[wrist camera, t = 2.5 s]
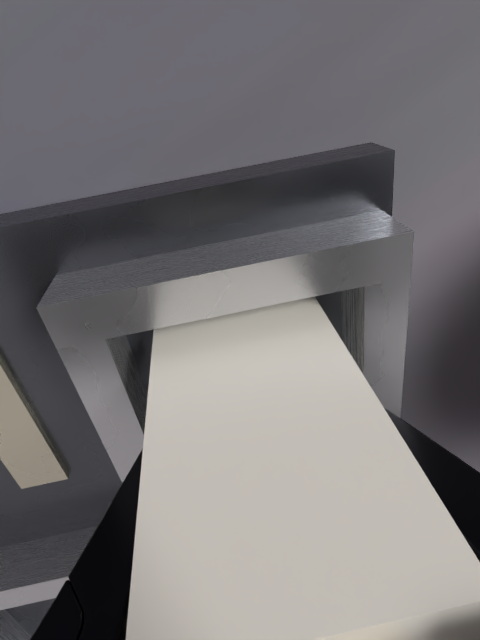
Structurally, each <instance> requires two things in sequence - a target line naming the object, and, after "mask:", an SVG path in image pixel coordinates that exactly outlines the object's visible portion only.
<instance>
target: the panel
mask: <svg viewBox="0 0 480 640" xmlns="http://www.w3.org/2000/svg"><path fill="white" fill-rule="evenodd" d="M394 155H395V150H392V149H389V148H386V147H383V146H380V145H378V144H375V143H367V144H361V145H356V146H351V147H346V148H341V149H336V150H330V151H325V152H320V153H315V154H310V155H305V156H299V157H294V158H289V159H284V160H279V161H274V162H268V163H263V164H258V165H253V166H248V167H242V168H237V169H232V170H227V171H222V172H217V173H211V174H206V175H201V176H196V177H191V178H186V179H180V180H175V181H170V182H165V183H160V184H155V185H149V186H144V187H139V188H134V189H129V190H124V191H118V192H113V193H108V194H103V195H98V196H93V197H87V198H82V199H77V200H72V201H67V202H62V203H56V204H51V205H46V206H41V207H36V208H31V209H25V210H20V211H15V212H10V213H5V214H0V640H30V639H31V637H32V636H33V634H34V633H35V631H36V630H37V628H38V626H39V625H40V623H41V621H42V620H43V618H44V616H45V615H46V613H47V611H48V610H49V608H50V607H51V605H52V603H53V602H54V600H55V598H56V597H57V595H58V593H59V591H60V590H61V588H62V586H63V584H64V583H65V581H66V580H69V578H68V576H69V574H70V573H71V571H72V569H73V568H74V566H75V564H76V562H77V561H78V559H79V557H80V555H81V554H82V552H83V550H84V549H85V547H86V545H87V543H88V542H89V540H90V538H91V536H92V535H93V533H94V531H95V530H96V528H97V526H98V524H99V523H100V521H101V519H102V518H103V516H104V514H105V512H106V511H107V509H108V507H109V505H110V504H111V502H112V500H113V499H114V497H115V495H116V493H117V492H118V490H119V488H120V486H121V485H122V483H123V481H124V480H125V478H126V476H127V474H128V473H129V471H130V469H131V468H132V466H133V464H134V462H135V461H136V459H137V457H138V455H139V454H140V452H141V450H142V449H143V442H144V431H145V420H146V409H147V398H148V387H149V376H150V365H151V354H152V343H153V331H154V329H158V328H163V327H168V326H173V325H178V324H183V323H187V322H192V321H197V320H202V319H207V318H212V317H217V316H222V315H226V314H231V313H236V312H241V311H246V310H251V309H256V308H261V307H266V306H270V305H275V304H280V303H285V302H290V301H295V300H300V299H305V298H310V297H314V296H315V298H316V300H317V301H318V303H319V304H320V306H321V308H322V309H323V311H324V312H325V314H326V316H327V317H328V319H329V320H330V322H331V324H332V325H333V327H334V328H335V330H336V332H337V333H338V335H339V337H340V338H341V340H342V341H343V343H344V345H345V346H346V348H347V349H348V351H349V353H350V354H351V356H352V357H353V359H354V361H355V362H356V364H357V365H358V367H359V369H360V370H361V372H362V374H363V375H364V377H365V378H366V380H367V382H368V383H369V385H370V386H371V388H372V390H373V391H374V393H375V394H376V396H377V398H378V399H379V401H380V402H381V404H382V406H383V407H385V408H386V409H388V410H389V411H391V412H392V413H393V414H395V415H396V416H398V417H399V418H400V417H401V403H402V389H403V376H404V362H405V349H406V335H407V321H408V308H409V294H410V281H411V267H412V254H413V240H414V231H412V230H411V229H409V228H408V227H406V226H405V225H403V224H402V223H400V222H399V221H397V220H396V219H394V218H393V217H392V203H393V179H394Z"/></svg>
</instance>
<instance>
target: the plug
mask: <svg viewBox="0 0 480 640" xmlns="http://www.w3.org/2000/svg"><path fill="white" fill-rule="evenodd" d="M126 640H480V562H479V560H478V559H477V557H476V555H475V554H474V552H473V551H472V549H471V547H470V546H469V544H468V542H467V541H466V539H465V538H464V536H463V534H462V533H461V531H460V530H459V528H458V526H457V525H456V523H455V522H454V520H453V518H452V517H451V515H450V514H449V512H448V510H447V509H446V507H445V505H444V504H443V502H442V501H441V499H440V497H439V496H438V494H437V493H436V491H435V489H434V488H433V486H432V485H431V483H430V481H429V480H428V478H427V477H426V475H425V473H424V472H423V470H422V468H421V467H420V465H419V464H418V462H417V460H416V459H415V457H414V456H413V454H412V452H411V451H410V449H409V448H408V446H407V444H406V443H405V441H404V439H403V438H402V436H401V435H400V433H399V431H398V430H397V428H396V427H395V425H394V423H393V422H392V420H391V419H390V417H389V415H388V414H387V412H386V411H385V409H384V407H383V406H382V404H381V402H380V401H379V399H378V398H377V396H376V394H375V393H374V391H373V390H372V388H371V386H370V385H369V383H368V382H367V380H366V378H365V377H364V375H363V374H362V372H361V370H360V369H359V367H358V365H357V364H356V362H355V361H354V359H353V357H352V356H351V354H350V353H349V351H348V349H347V348H346V346H345V345H344V343H343V341H342V340H341V338H340V337H339V335H338V333H337V332H336V330H335V328H334V327H333V325H332V324H331V322H330V320H329V319H328V317H327V316H326V314H325V312H324V311H323V309H322V308H321V306H320V304H319V303H318V301H317V300H316V298H315V296H314V297H310V298H305V299H300V300H295V301H290V302H285V303H280V304H275V305H270V306H266V307H261V308H256V309H251V310H246V311H241V312H236V313H231V314H226V315H222V316H217V317H212V318H207V319H202V320H197V321H192V322H187V323H183V324H178V325H173V326H168V327H163V328H158V329H154V331H153V343H152V354H151V365H150V376H149V387H148V398H147V409H146V420H145V431H144V442H143V453H142V464H141V475H140V486H139V497H138V508H137V519H136V530H135V541H134V552H133V563H132V574H131V585H130V596H129V608H128V619H127V630H126Z"/></svg>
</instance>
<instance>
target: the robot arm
mask: <svg viewBox="0 0 480 640" xmlns="http://www.w3.org/2000/svg"><path fill="white" fill-rule="evenodd" d="M384 409H385V411H386V412H387V414H388V415H389V417H390V419H391V420H392V422H393V423H394V425H395V427H396V428H397V430H398V431H399V433H400V435H401V436H402V438H403V439H404V441H405V443H406V444H407V446H408V448H409V449H410V451H411V452H412V454H413V456H414V457H415V459H416V460H417V462H418V464H419V465H420V467H421V468H422V470H423V472H424V473H425V475H426V477H427V478H428V480H429V481H430V483H431V485H432V486H433V488H434V489H435V491H436V493H437V494H438V496H439V497H440V499H441V501H442V502H443V504H444V505H445V507H446V509H447V510H448V512H449V514H450V515H451V517H452V518H453V520H454V522H455V523H456V525H457V526H458V528H459V530H460V531H461V533H462V534H463V536H464V538H465V539H466V541H467V542H468V544H469V546H470V547H471V549H472V551H473V552H474V554H475V555H476V557H477V559H478V560H479V562H480V472H478V471H477V470H475V469H474V468H472V467H471V466H469V465H468V464H466V463H465V462H464V461H462V460H461V459H459V458H458V457H456V456H455V455H453V454H452V453H450V452H449V451H447V450H446V449H445V448H443V447H442V446H440V445H439V444H437V443H436V442H434V441H433V440H431V439H430V438H428V437H427V436H426V435H424V434H423V433H421V432H420V431H418V430H417V429H415V428H414V427H412V426H411V425H410V424H408V423H407V422H405V421H404V420H402V419H401V418H399V417H398V416H396V415H395V414H393V413H392V412H391V411H389V410H388V409H386V408H385V407H384ZM142 453H143V449H142V450H141V452H140V454H139V455H138V457H137V459H136V461H135V462H134V464H133V466H132V468H131V469H130V471H129V473H128V474H127V476H126V478H125V480H124V481H123V483H122V485H121V486H120V488H119V490H118V492H117V493H116V495H115V497H114V499H113V500H112V502H111V504H110V505H109V507H108V509H107V511H106V512H105V514H104V516H103V518H102V519H101V521H100V523H99V524H98V526H97V528H96V530H95V531H94V533H93V535H92V536H91V538H90V540H89V542H88V543H87V545H86V547H85V549H84V550H83V552H82V554H81V555H80V557H79V559H78V561H77V562H76V564H75V566H74V568H73V569H72V571H71V573H70V574H69V576H68V578H69V580H66V581H65V583H64V584H63V586H62V588H61V590H60V591H59V593H58V595H57V597H56V598H55V600H54V602H53V603H52V605H51V607H50V608H49V610H48V611H47V613H46V615H45V616H44V618H43V620H42V621H41V623H40V625H39V626H38V628H37V630H36V631H35V633H34V634H33V636H32V637H31V639H30V640H126V630H127V619H128V608H129V596H130V585H131V574H132V563H133V552H134V541H135V530H136V519H137V508H138V497H139V486H140V475H141V464H142Z"/></svg>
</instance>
